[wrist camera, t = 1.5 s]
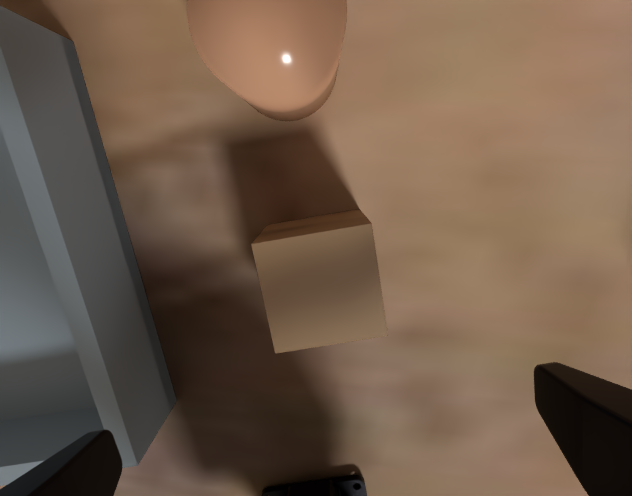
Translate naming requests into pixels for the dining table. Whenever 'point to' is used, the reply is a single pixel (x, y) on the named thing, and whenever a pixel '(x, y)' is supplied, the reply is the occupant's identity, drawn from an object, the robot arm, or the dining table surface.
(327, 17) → the terracotta capsule
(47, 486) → the robot arm
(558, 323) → the dining table surface
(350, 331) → the walnut block
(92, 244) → the tote
